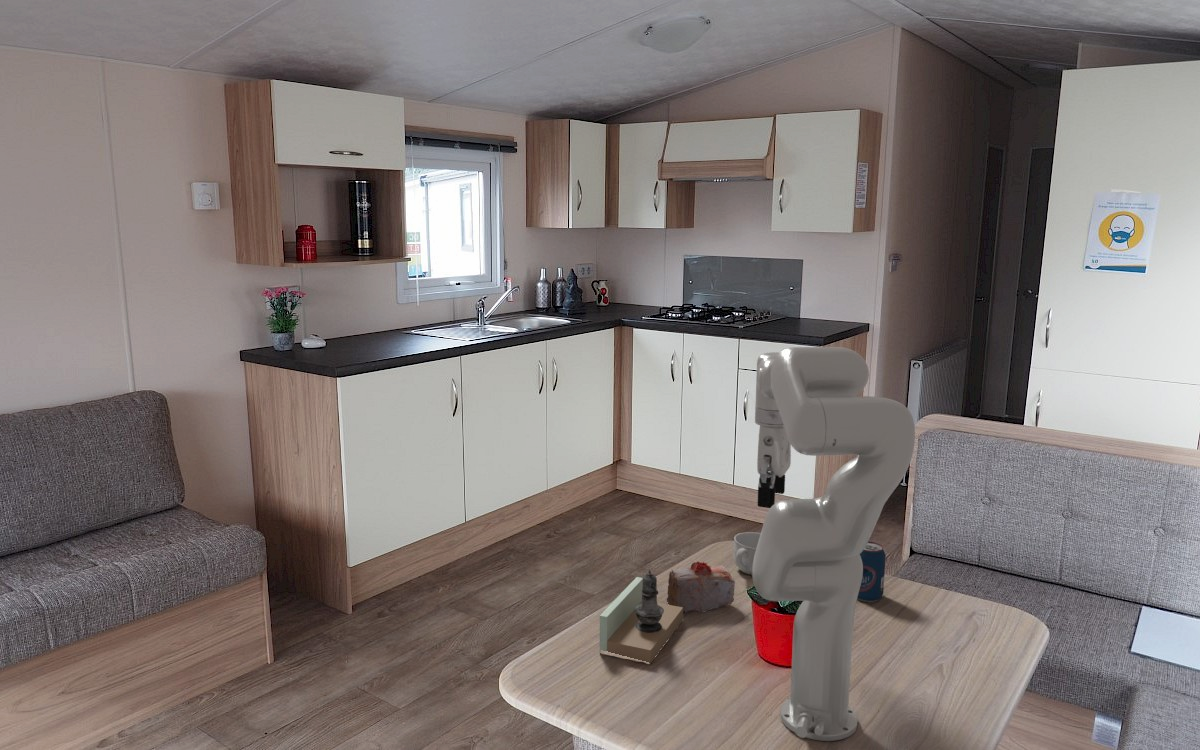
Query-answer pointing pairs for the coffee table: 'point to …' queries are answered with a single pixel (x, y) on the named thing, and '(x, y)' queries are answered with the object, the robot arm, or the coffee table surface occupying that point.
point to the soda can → (872, 572)
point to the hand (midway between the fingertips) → (771, 499)
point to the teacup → (745, 550)
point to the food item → (700, 587)
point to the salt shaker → (649, 606)
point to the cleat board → (622, 630)
